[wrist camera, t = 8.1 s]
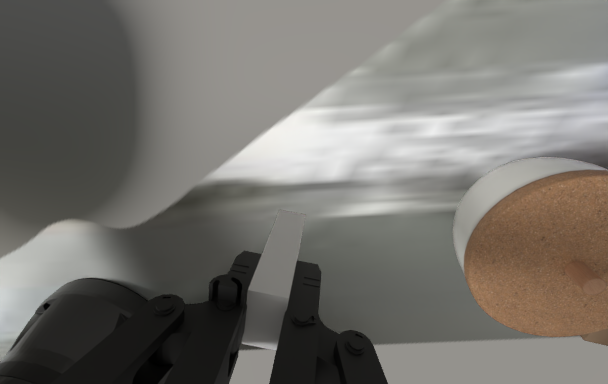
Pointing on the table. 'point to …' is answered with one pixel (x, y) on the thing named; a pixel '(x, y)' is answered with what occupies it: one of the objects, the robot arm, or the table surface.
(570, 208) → the lidded jar
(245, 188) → the table surface
